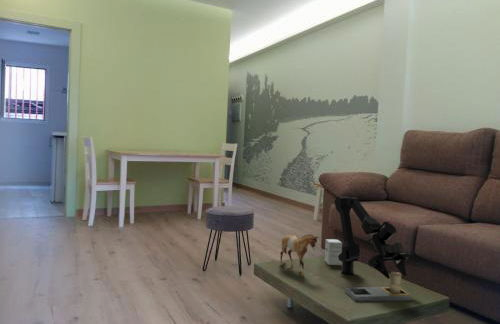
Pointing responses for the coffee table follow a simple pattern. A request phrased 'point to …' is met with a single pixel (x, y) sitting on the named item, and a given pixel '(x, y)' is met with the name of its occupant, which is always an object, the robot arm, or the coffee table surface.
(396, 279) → the peg
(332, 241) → the supplement box
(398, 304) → the coffee table surface
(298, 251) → the horse figurine
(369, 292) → the board with square holes
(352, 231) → the robot arm
